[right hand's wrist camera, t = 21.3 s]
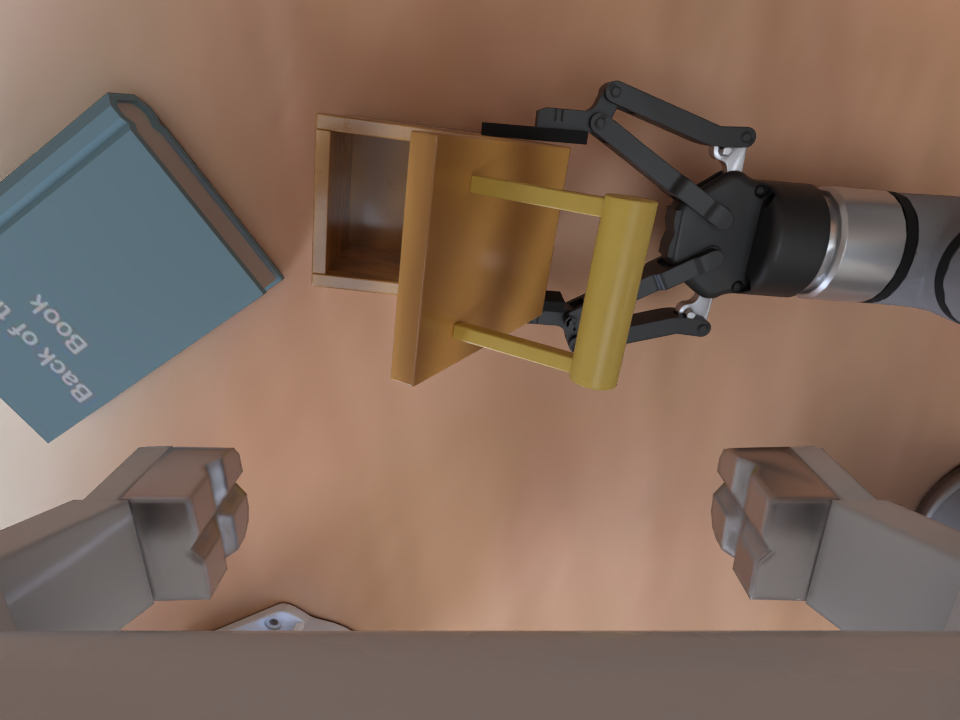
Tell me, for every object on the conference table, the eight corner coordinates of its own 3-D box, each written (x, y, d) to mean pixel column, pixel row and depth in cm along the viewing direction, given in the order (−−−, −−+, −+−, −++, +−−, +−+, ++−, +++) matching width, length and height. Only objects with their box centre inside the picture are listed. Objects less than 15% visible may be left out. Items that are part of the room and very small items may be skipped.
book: (86, 415, 53) (48, 443, 48) (-65, 263, 48) (-124, 279, 43) (284, 277, 48) (263, 294, 44) (140, 95, 43) (99, 91, 39)
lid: (389, 379, 25) (585, 446, 22) (409, 129, 22) (646, 164, 18) (524, 310, 38) (662, 346, 35) (551, 145, 34) (707, 167, 31)
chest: (338, 251, 47) (311, 286, 37) (344, 114, 43) (316, 112, 33) (513, 271, 48) (532, 310, 38) (533, 140, 45) (559, 145, 35)
